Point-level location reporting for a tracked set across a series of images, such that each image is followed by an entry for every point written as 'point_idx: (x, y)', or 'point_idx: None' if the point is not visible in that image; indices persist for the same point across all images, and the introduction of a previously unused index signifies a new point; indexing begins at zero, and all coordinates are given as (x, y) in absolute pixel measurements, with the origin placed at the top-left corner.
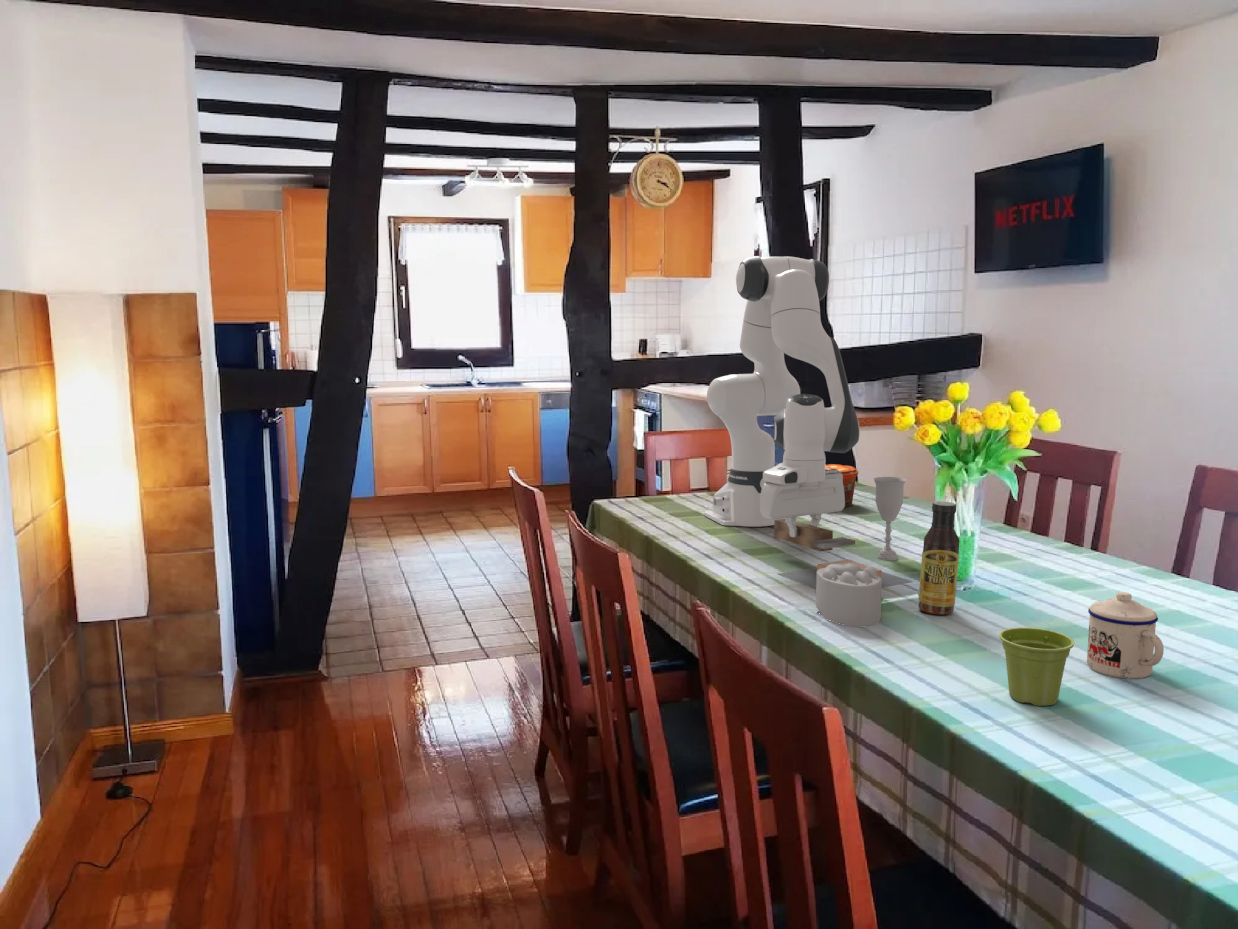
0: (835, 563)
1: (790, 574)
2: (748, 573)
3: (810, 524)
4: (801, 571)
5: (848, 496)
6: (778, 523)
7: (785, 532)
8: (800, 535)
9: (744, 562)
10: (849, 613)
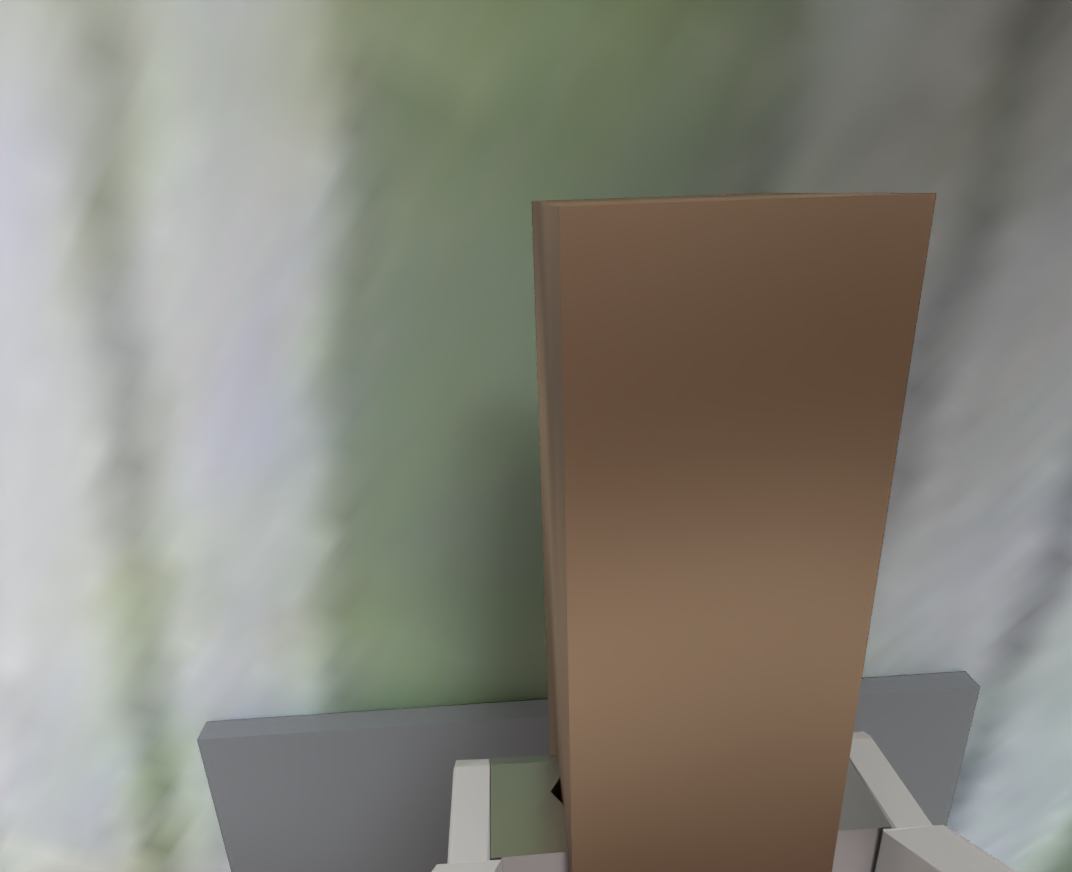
0: None
1: (294, 789)
2: (6, 552)
3: (897, 869)
4: (426, 753)
5: None
6: (555, 378)
7: (550, 539)
8: None
9: (124, 171)
10: None
